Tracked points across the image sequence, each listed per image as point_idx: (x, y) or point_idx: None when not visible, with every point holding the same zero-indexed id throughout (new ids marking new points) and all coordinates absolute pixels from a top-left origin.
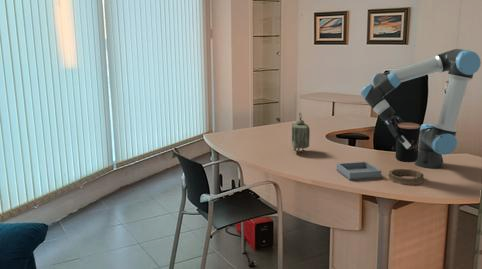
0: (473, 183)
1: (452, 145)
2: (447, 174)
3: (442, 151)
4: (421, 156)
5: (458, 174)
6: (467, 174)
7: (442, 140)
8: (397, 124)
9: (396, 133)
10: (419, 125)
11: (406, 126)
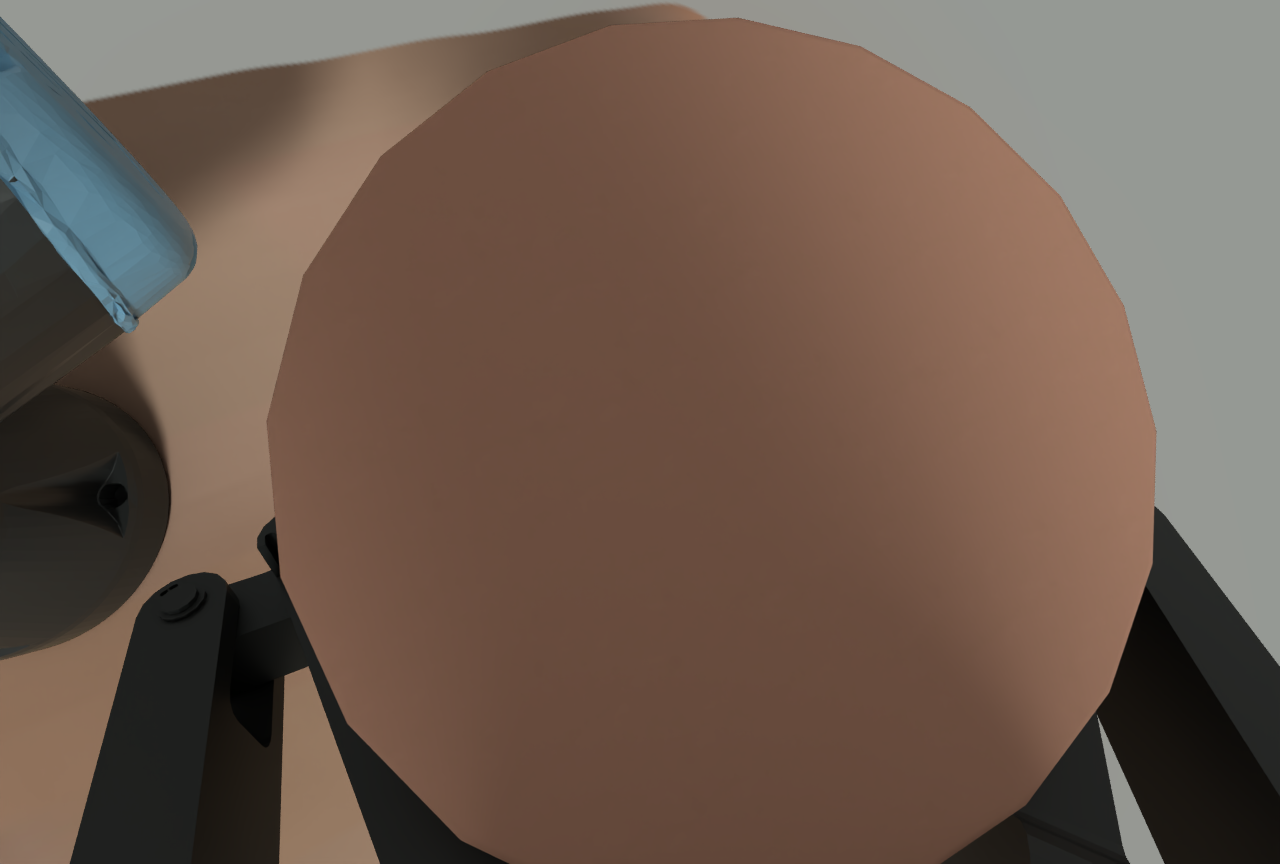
0: (370, 69)
1: (16, 37)
2: (258, 277)
3: (167, 198)
4: (48, 555)
5: (200, 211)
6: (153, 157)
7: (49, 86)
8: (972, 841)
9: (1175, 553)
10: (603, 37)
11: (1071, 361)
